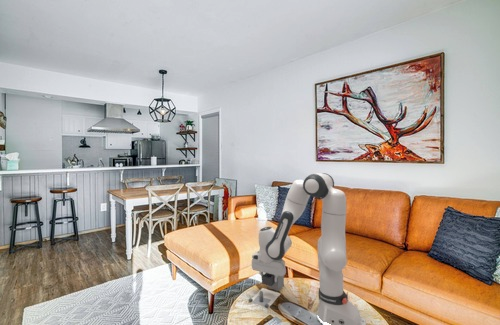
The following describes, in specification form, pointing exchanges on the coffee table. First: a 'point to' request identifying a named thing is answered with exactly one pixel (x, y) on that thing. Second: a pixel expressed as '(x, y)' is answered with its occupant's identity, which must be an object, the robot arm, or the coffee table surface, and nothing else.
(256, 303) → the grey peg base plate
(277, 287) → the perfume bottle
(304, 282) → the coffee table surface
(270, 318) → the coffee table surface
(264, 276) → the dark grey hollow block
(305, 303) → the coffee table surface
